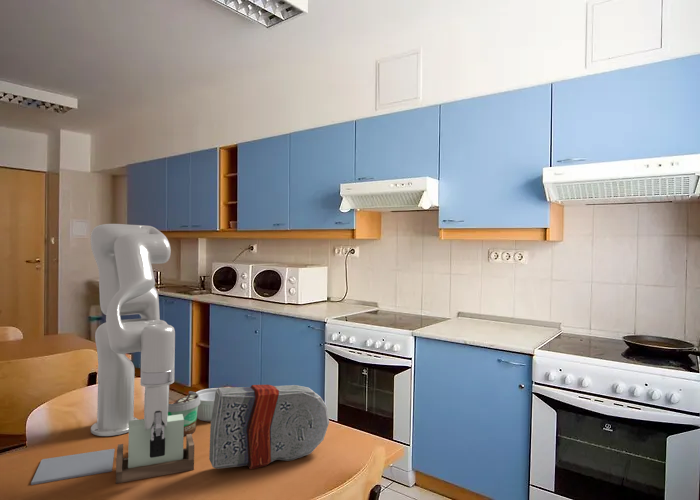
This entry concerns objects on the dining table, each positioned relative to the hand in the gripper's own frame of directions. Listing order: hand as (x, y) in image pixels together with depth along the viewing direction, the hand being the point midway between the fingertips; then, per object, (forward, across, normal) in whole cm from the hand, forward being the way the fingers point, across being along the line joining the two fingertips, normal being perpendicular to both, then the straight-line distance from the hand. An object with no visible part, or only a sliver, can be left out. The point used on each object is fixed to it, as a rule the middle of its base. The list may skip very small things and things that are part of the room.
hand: (156, 447), depth 108 cm
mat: (+5, -9, -18) cm, 21 cm away
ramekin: (+5, -31, +18) cm, 37 cm away
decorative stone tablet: (+6, +6, +27) cm, 28 cm away
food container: (+5, -20, +9) cm, 23 cm away
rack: (+5, 0, 0) cm, 5 cm away
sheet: (+5, 0, 0) cm, 5 cm away
